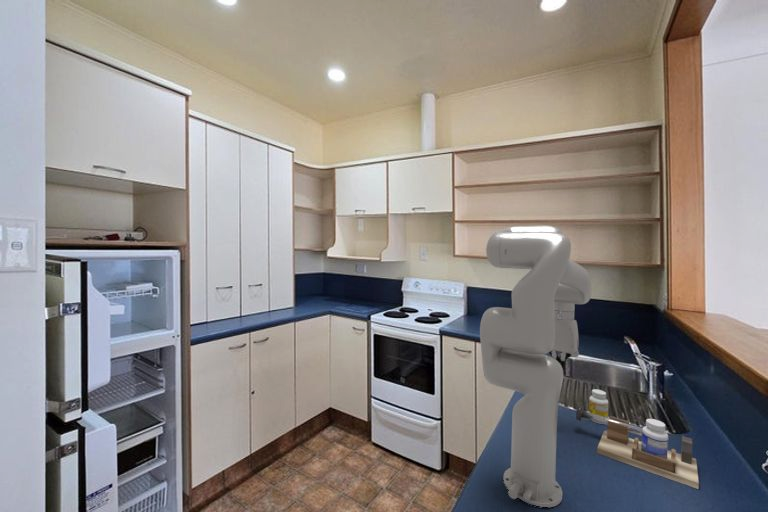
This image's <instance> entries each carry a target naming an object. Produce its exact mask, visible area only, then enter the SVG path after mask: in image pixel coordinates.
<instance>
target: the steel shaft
mask: <svg viewBox="0 0 768 512" xmlns="http://www.w3.org/2000/svg"><path fill="white" fill-rule="evenodd" d="M575 418H576V421H577V422H583V419H586V420H589V421H591V422H593V421H595V422H594V423H596V422H598V423H597V424H599V423H602V424H601V425H605V426H608V420H609V421H612V422H616V423H619V424H623V425H626V426H628V432H629V433H631V434H634V435H638V436H641V437H642V428H643V427H640V426H637V425H633V424H630V423H629V424H626V423H623V422H620V421H616V420H613V419H609V417H608V418H606V417H602V416H599V415H596V414H592V413H589V411H586V410H585V409H584V406H583V405H577V408H576V415H575Z"/></svg>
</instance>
